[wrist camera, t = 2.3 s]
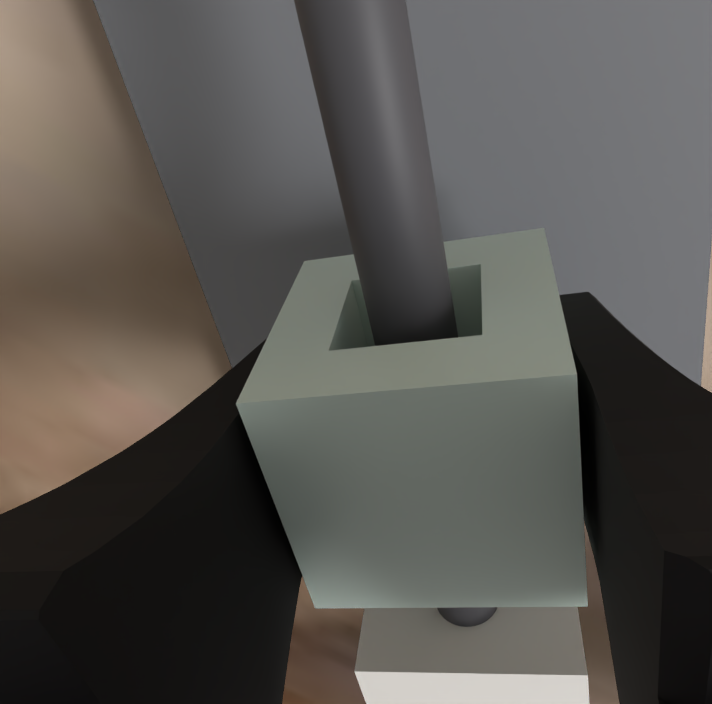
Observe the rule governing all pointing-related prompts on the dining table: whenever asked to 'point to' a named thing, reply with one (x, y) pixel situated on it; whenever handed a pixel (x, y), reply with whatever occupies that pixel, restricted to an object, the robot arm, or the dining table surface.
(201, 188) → the cord rig
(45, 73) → the dining table surface
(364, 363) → the marker sleeve
